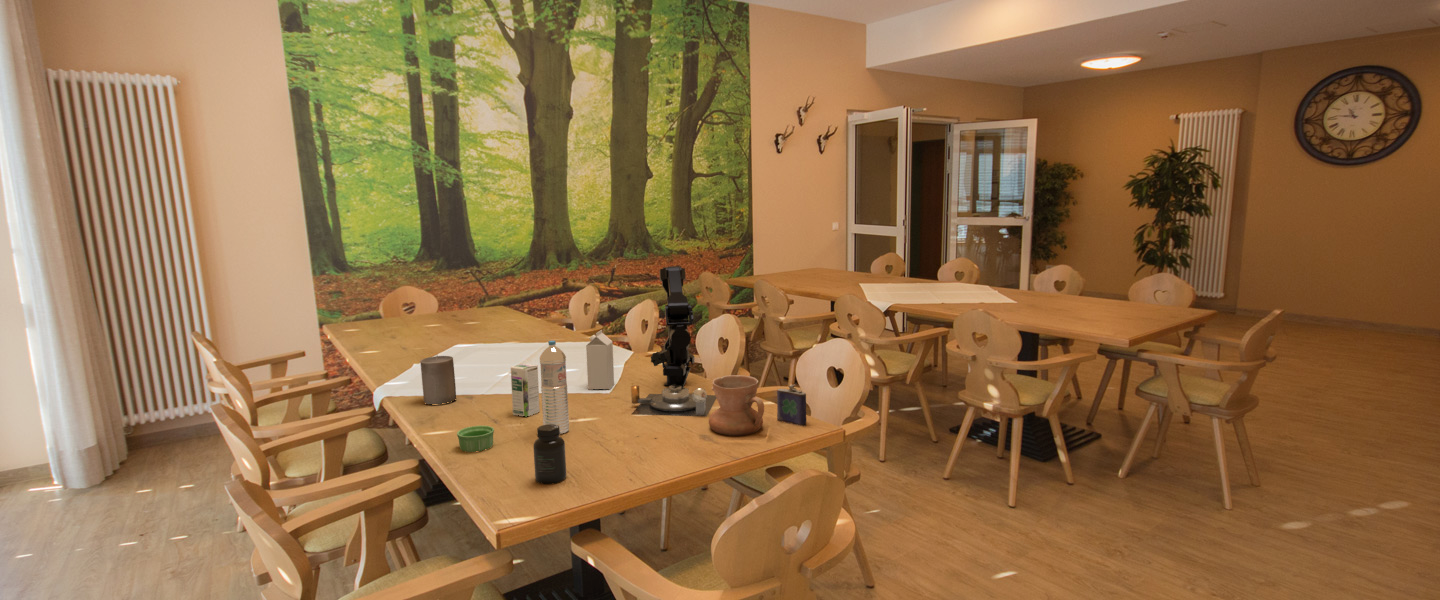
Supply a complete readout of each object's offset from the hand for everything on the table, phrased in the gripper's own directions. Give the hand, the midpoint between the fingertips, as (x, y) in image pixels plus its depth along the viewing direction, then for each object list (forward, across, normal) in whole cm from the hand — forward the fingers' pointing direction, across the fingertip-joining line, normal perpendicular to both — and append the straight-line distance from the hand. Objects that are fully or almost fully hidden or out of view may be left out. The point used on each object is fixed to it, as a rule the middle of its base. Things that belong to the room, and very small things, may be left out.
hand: (680, 391), depth 220 cm
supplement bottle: (+3, +63, -17) cm, 65 cm away
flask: (+4, +17, +35) cm, 39 cm away
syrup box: (+4, +16, -43) cm, 46 cm away
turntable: (+2, +6, -3) cm, 7 cm away
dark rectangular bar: (+2, +15, +9) cm, 17 cm away
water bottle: (+4, +31, -28) cm, 42 cm away
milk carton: (+4, -15, -30) cm, 34 cm away
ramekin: (+4, +44, -44) cm, 63 cm away
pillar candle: (+4, +6, -76) cm, 76 cm away
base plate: (+3, +6, 0) cm, 7 cm away
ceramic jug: (+4, +27, +21) cm, 34 cm away
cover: (+1, +5, 0) cm, 5 cm away
